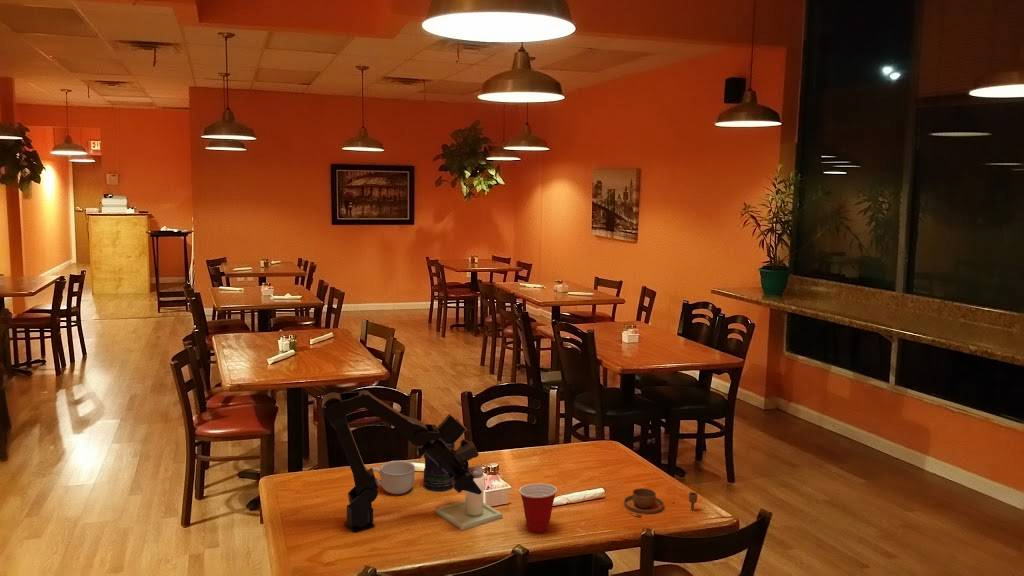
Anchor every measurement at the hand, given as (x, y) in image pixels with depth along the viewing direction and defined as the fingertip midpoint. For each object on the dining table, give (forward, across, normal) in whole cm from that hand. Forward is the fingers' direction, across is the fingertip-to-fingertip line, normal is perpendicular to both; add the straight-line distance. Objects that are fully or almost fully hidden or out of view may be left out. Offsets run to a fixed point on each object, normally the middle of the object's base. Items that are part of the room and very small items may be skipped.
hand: (479, 489), depth 226 cm
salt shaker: (+4, 0, +6) cm, 7 cm away
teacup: (-11, +23, +22) cm, 34 cm away
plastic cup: (+16, -11, -5) cm, 20 cm away
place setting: (+44, -5, -32) cm, 54 cm away
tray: (+4, 0, +8) cm, 9 cm away
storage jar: (0, +24, +12) cm, 27 cm away
